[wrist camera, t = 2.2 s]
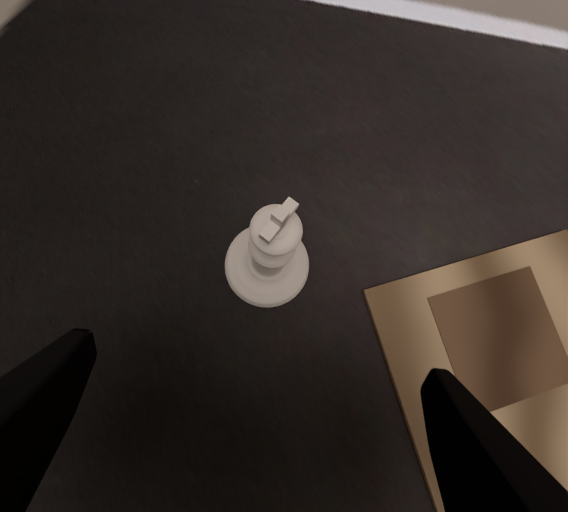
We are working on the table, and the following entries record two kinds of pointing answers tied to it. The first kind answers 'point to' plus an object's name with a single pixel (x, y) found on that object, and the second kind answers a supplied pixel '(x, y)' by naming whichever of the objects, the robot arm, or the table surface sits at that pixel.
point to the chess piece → (269, 257)
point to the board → (485, 343)
